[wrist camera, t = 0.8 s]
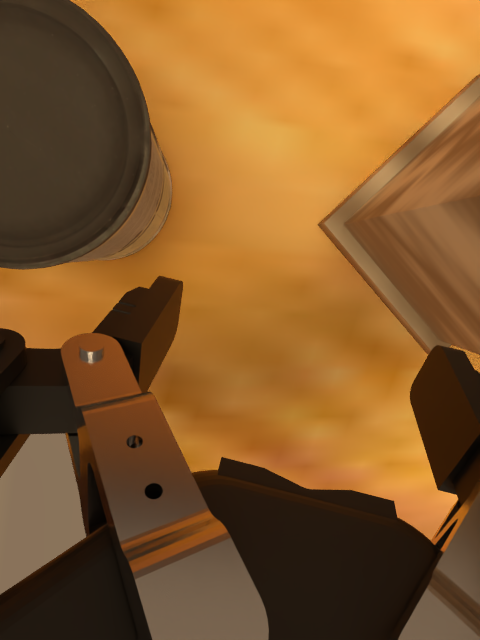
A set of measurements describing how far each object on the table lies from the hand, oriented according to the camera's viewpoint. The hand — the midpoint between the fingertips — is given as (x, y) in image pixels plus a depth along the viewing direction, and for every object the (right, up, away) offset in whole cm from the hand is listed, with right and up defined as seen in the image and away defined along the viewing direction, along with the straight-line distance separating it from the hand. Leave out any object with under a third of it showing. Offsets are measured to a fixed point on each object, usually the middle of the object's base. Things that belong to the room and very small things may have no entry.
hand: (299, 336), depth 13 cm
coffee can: (-12, +10, +16) cm, 22 cm away
